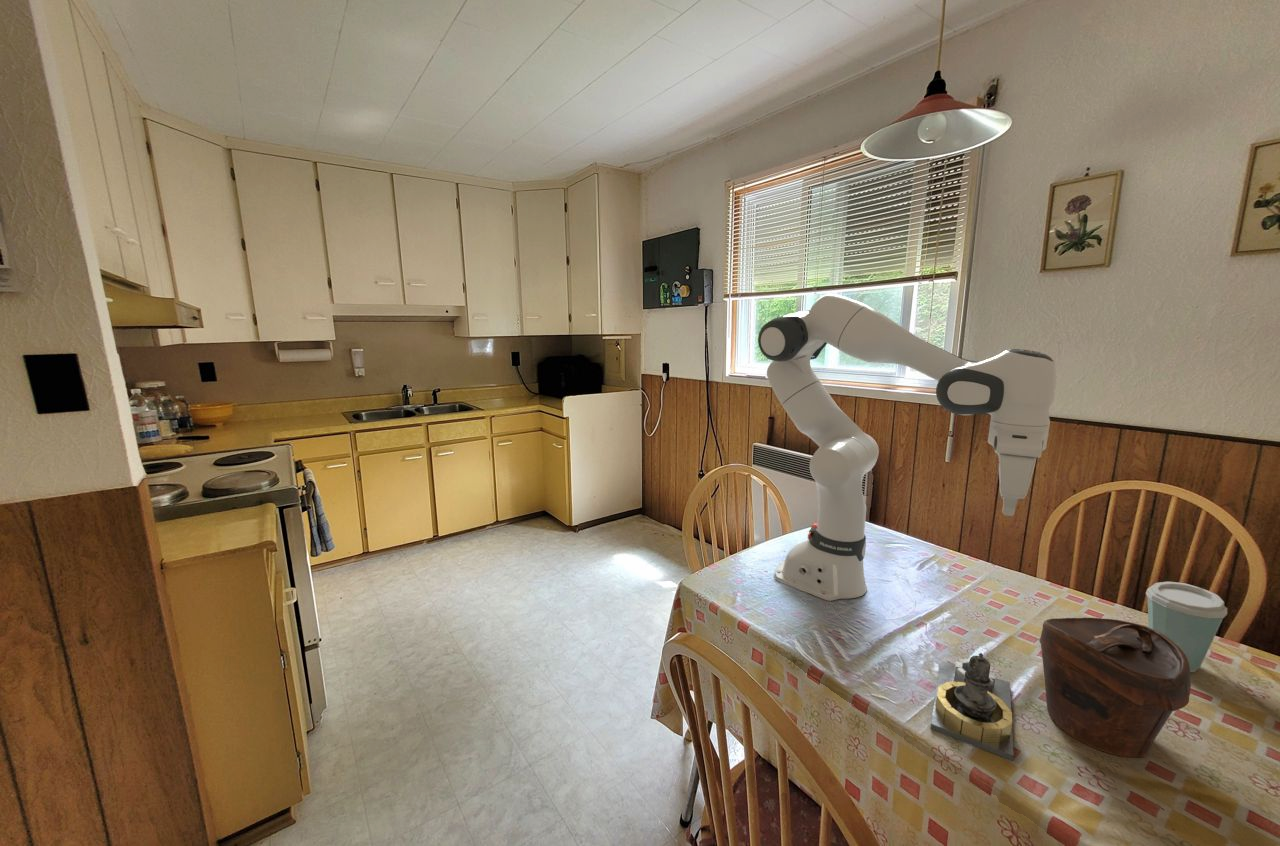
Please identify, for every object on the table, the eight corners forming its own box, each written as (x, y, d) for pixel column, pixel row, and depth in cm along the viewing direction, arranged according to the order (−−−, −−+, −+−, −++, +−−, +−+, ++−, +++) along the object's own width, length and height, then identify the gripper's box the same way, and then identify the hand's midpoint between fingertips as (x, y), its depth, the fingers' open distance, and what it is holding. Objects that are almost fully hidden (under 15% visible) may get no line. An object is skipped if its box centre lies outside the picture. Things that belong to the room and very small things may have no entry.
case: (1169, 717, 84) (1188, 621, 81) (1184, 801, 70) (1209, 689, 66) (1035, 671, 96) (1047, 586, 92) (1025, 735, 81) (1038, 637, 78)
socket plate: (930, 728, 82) (932, 710, 82) (939, 664, 98) (941, 648, 97) (1012, 760, 76) (1015, 741, 75) (1009, 687, 91) (1011, 670, 91)
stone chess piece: (1000, 732, 80) (1011, 667, 78) (960, 727, 81) (969, 662, 79) (983, 705, 86) (992, 643, 84) (946, 701, 87) (953, 640, 85)
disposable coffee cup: (1189, 685, 91) (1206, 611, 88) (1120, 649, 102) (1133, 582, 99) (1226, 674, 94) (1244, 602, 91) (1155, 640, 104) (1170, 574, 101)
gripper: (996, 425, 103) (987, 489, 106) (997, 445, 87) (987, 520, 89) (1034, 428, 100) (1024, 494, 102) (1043, 450, 83) (1031, 527, 86)
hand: (1007, 506), depth 96 cm, fingers open, 8 cm apart
